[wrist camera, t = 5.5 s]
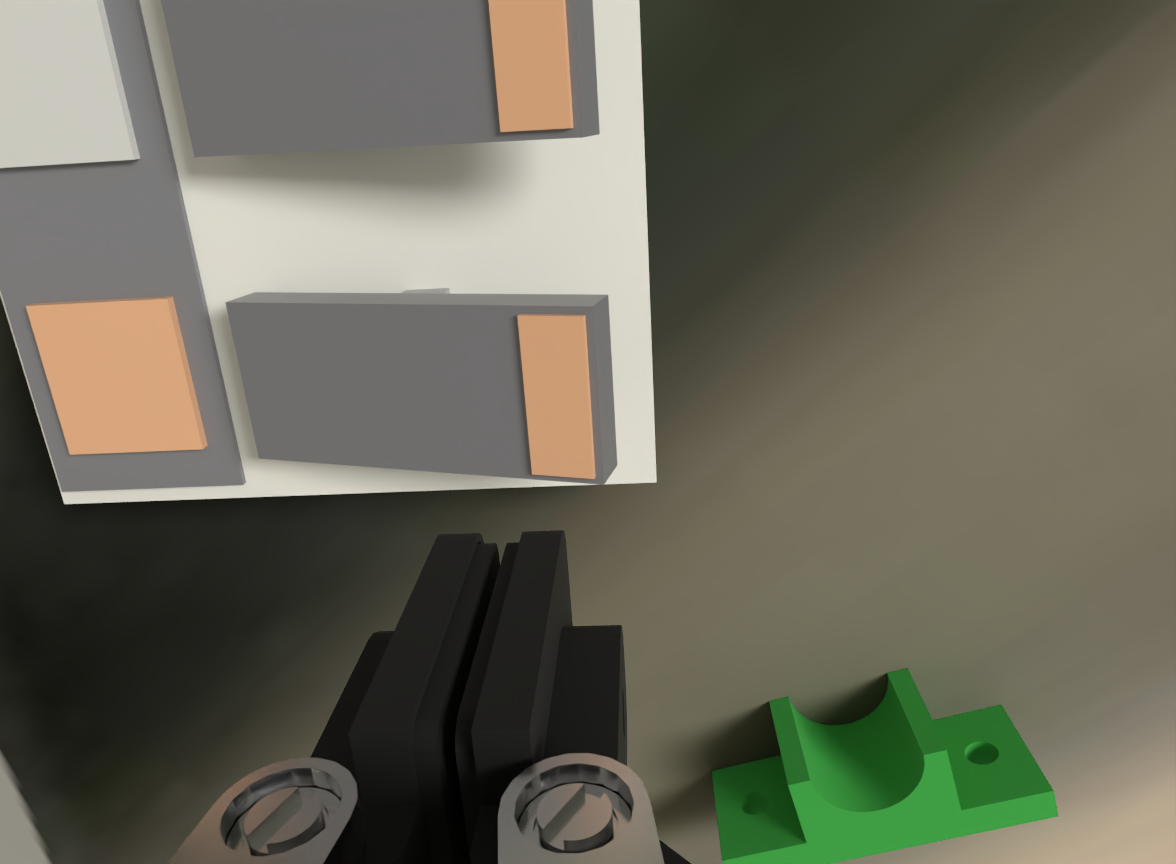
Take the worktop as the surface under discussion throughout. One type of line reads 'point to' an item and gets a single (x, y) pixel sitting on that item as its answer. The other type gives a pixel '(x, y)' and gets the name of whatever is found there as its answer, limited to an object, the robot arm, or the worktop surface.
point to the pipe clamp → (877, 783)
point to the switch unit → (273, 252)
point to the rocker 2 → (431, 381)
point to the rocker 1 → (381, 72)
